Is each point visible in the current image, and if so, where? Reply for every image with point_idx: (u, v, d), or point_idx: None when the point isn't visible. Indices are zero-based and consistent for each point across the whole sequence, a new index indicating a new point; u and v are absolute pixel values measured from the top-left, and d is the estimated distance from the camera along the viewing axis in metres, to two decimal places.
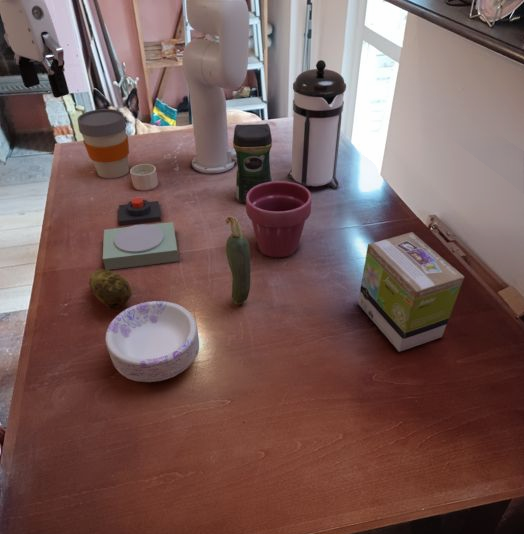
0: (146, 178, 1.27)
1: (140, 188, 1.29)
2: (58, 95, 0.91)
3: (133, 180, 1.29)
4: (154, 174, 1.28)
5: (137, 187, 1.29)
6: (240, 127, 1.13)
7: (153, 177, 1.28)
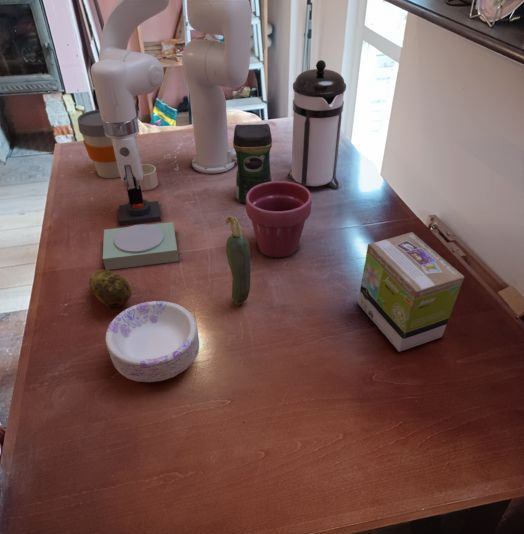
0: (146, 178, 1.27)
1: None
2: (133, 203, 1.17)
3: None
4: (154, 174, 1.28)
5: None
6: (240, 127, 1.13)
7: (153, 177, 1.28)
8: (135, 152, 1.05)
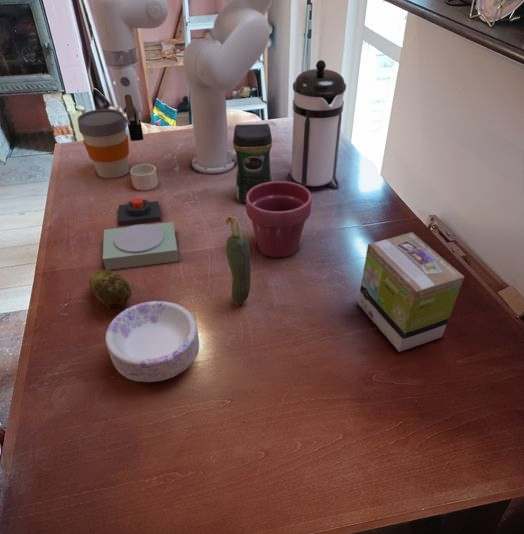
0: (146, 178, 1.27)
1: (140, 188, 1.29)
2: (133, 139, 1.21)
3: (133, 180, 1.29)
4: (154, 174, 1.28)
5: (137, 187, 1.29)
6: (240, 127, 1.13)
7: (153, 177, 1.28)
8: (135, 82, 1.10)
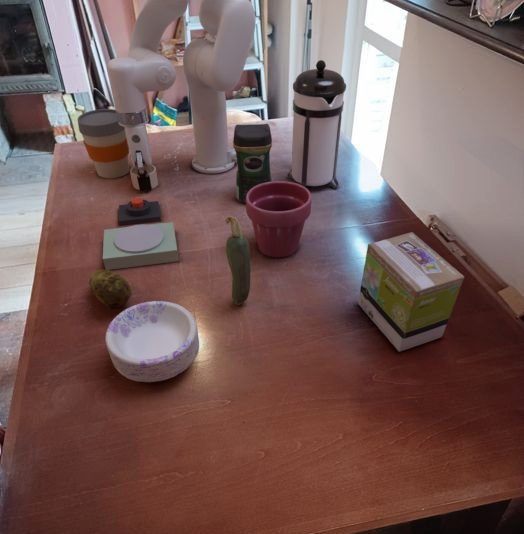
0: None
1: None
2: (142, 189, 1.28)
3: (133, 180, 1.28)
4: (154, 174, 1.28)
5: (137, 187, 1.29)
6: (240, 127, 1.13)
7: (153, 177, 1.28)
8: (145, 139, 1.19)
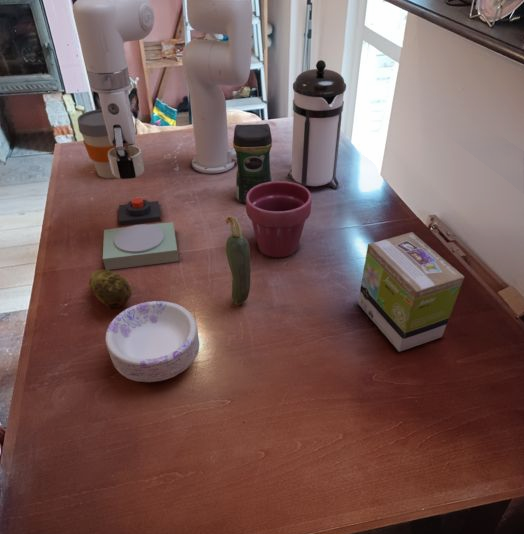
0: None
1: None
2: (124, 177, 1.00)
3: (112, 165, 1.00)
4: (138, 157, 1.00)
5: (117, 174, 1.01)
6: (240, 127, 1.13)
7: (138, 162, 1.00)
8: (126, 110, 0.91)
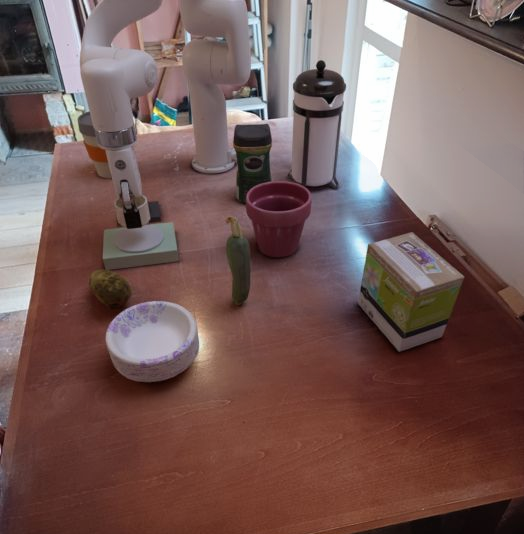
0: None
1: None
2: (130, 227, 1.00)
3: (118, 215, 1.01)
4: (144, 207, 1.00)
5: (123, 224, 1.01)
6: (240, 127, 1.13)
7: (144, 212, 1.01)
8: (133, 165, 0.91)
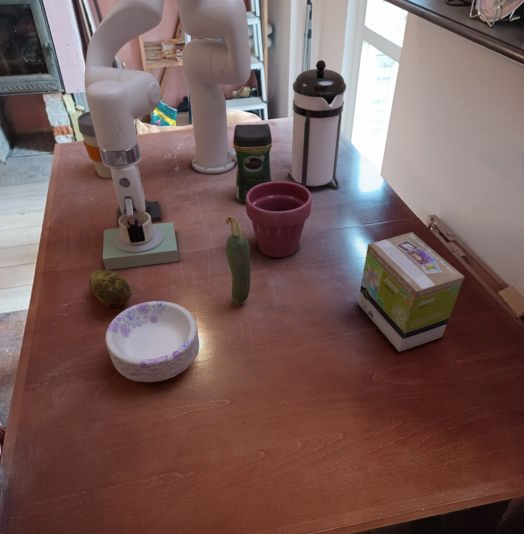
0: None
1: None
2: (133, 241, 1.02)
3: (122, 232, 1.04)
4: (148, 225, 1.03)
5: (127, 241, 1.04)
6: (240, 127, 1.13)
7: (148, 229, 1.04)
8: (136, 183, 0.94)
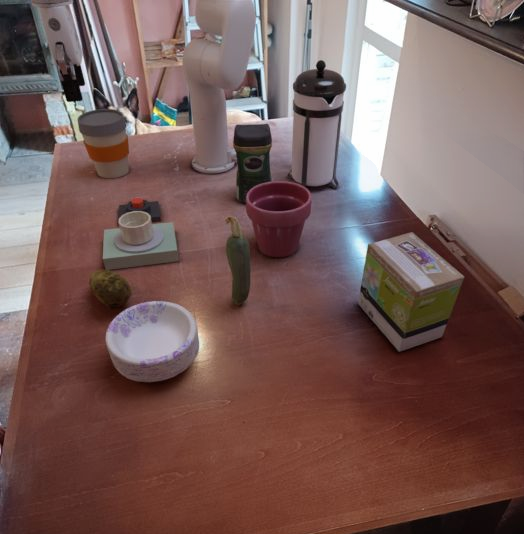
0: (138, 231, 1.02)
1: (131, 242, 1.04)
2: (70, 100, 0.98)
3: (122, 232, 1.04)
4: (148, 225, 1.03)
5: (127, 241, 1.04)
6: (240, 127, 1.13)
7: (148, 229, 1.04)
8: (67, 26, 0.90)
